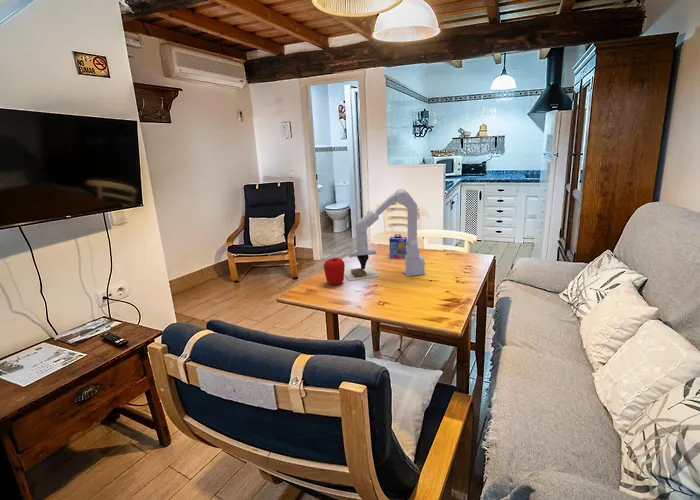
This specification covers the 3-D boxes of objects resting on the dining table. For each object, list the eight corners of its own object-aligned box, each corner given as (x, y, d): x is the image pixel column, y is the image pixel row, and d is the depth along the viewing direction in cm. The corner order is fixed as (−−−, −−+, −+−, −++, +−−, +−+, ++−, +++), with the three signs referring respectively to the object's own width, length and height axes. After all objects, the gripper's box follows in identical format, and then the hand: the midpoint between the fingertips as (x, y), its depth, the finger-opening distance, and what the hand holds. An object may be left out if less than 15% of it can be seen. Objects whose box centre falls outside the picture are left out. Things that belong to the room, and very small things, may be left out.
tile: (361, 267, 206) (351, 269, 204) (366, 272, 198) (355, 274, 197) (361, 271, 206) (351, 273, 205) (366, 276, 199) (355, 277, 198)
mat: (369, 267, 214) (369, 266, 214) (378, 276, 199) (378, 275, 199) (341, 271, 210) (341, 270, 210) (349, 281, 195) (349, 280, 195)
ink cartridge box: (389, 258, 228) (388, 234, 224) (390, 255, 233) (390, 232, 229) (406, 259, 225) (405, 235, 221) (407, 256, 230) (406, 232, 226)
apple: (331, 278, 200) (329, 253, 196) (349, 280, 195) (347, 255, 191) (321, 285, 191) (319, 259, 187) (339, 288, 186) (337, 261, 182)
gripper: (372, 240, 204) (373, 264, 207) (346, 243, 200) (347, 268, 204) (377, 243, 197) (378, 268, 201) (350, 246, 193) (351, 272, 197)
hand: (363, 268), depth 202 cm, fingers closed
